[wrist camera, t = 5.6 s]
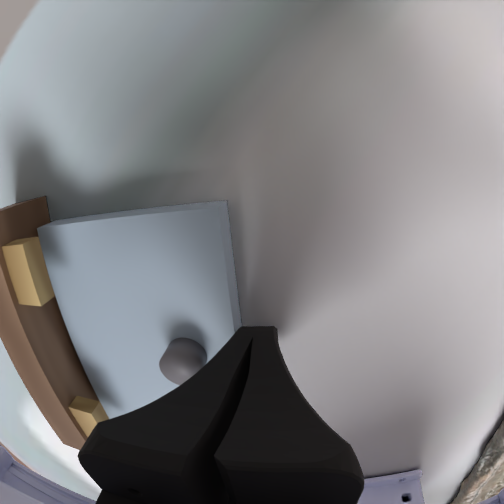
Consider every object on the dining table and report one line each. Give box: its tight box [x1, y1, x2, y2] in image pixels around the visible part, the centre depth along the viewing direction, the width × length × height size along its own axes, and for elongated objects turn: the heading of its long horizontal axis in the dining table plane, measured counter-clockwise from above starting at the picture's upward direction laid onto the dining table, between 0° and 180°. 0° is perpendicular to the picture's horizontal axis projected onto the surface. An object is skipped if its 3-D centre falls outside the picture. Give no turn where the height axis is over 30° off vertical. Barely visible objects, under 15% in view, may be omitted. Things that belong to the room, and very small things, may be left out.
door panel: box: [37, 200, 242, 419], centre depth 12 cm, size 8×11×3 cm
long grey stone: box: [450, 420, 504, 504], centre depth 13 cm, size 35×5×10 cm
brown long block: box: [0, 196, 109, 450], centre depth 12 cm, size 4×13×4 cm, turn 5°
